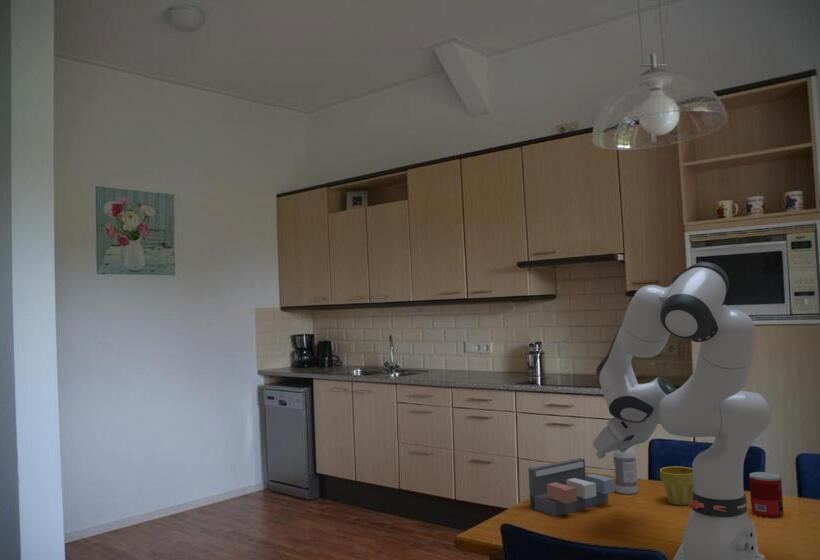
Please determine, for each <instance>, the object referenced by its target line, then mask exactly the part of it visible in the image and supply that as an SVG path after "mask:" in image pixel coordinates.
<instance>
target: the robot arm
mask: <svg viewBox="0 0 820 560" xmlns="http://www.w3.org/2000/svg"><path fill="white" fill-rule="evenodd" d="M729 284H730V283H729V278H728V275H727V273H726V271H725V270H724V269H723V268H722V267H720V266H719V265H717V264H715V263H714V262H709V261H700V262H697V263H694V264H692V265H690V266H688V267H687V268H686V269H684V270H683V271H682V272H680V273H679V274H678V275H676V276H675V277H673V278H672V279H671V284H670V285H669V286H666V287H664V286H661V285H655V284H648V285H644V286H642V287H639V289H638V290H637V291H636V292H635V294H634V295H633V296H632V298H631V300H630V302H629V304H628V306H627V309H626V311H625V315H624V317H623V320H622V321H623V322H622V323H621V324H620V326H619V327H618V328H617V331H616V333H615V335H614V337H613V340H612V342H611V344H610V347H609V349H608V352H607V354H606V356H605V357H604V358H603V359H602V360H601V362H600V363H599V364H598V366H597V368H596V371H595V375H596V379H597V381H598V383H599V385H600V388H601V390H602V394H603V397H604V400H605V403H606V406H607V410H608V412H609V414H610V415H611V416H612V418H610V419H608V420H607V421H606V425H607V426H605V427H604V428H603V429H602V430H601V431H600V432H599V433H598V435H597V436H596V438H595V439H594V440H593V443H592V444H593V447H594V448H595V450H596V451H597V452H596V453H595V455H596V457H597V458H598V459H599V460H600V459H603V458H604V457H606V455H607V454H606V453H611V452H614V450H618V449H619V450H620V452H621V453H622V452H625V451H626V450H627V449H628V448H630V447H633V446H636V445H639V444H643V443H645V442H646V441H648V440H649V439H650V437H651V436H653V434H654V432H655V430H656V429H657V427H658V425H659V423H660V425H661V427H662V429H663V430H664V431H665V432H666V433H668V434H669V435H674V436H679V437H686V438H712V437H714V441H713V443H711V446H709V448H707V449H706V450H703V451H701V452H699V453H698V454H696V457H694V458H693V461H692V464H691V466H692V469H693V483H694V490H693V494H692V500H691V499H690V500H689V504H688V507H689V508H690V509H692V510H691V511H690V512H689V513H690V514H689V516H688V519H687V523H686V525H685V527H684V532H683V535H682V543H681V544H680V546H679V548H678V550H677V552H676V553H675V555H674V557H673V559H672V560H766V556H765V555H764V554H762V553H761V552H759V547H758V539H757V537H758V536H757V531H756V530H757V529H756V525H755V523H754V521H753V520H752V519H751V518H750V517H749V515H748V513H747V511H748V500H747V495H746V494H745V493H744V492H745V491H744V490H745V489H744V465H745V464H744V462H745V458H746V456H747V453H748V450H749V449H750V447H751V445H752V443H753V442H754V441H756V439H757V438H758V437H759V436H760V435H761V434H763V433H764V432H765V431H766V430H767V429H768V427H770V423H771V419H772V411H771V408H770V405H769V403H768V402H767V400H766V399H765V397H763V395H762V394H760V393H758V392H752V391H745V390H743V389H744V388H745V386H746V385H747V383H748V379H749V375H750V370H751V365H752V361H753V356H754V350H755V342H756V341H755V340H756V334H755V333H756V331H755V323H754V321H753V319H752V318H751V317H750V315H748V314H747V313H746V312H745V311H743V310H739V309H735V308H729V307H728V306H727V305H726V304H724V302H725V299H726V297H727V295H728V293H729V287H730V285H729ZM670 335H672V336H674V337H676V338H678V339H683V340H685V341H692V342H694V343H700V344H699V350H698V356H697V359H696V364H695V367H694V370H693V373H692V374H691V375H690V377H689V378H688V379H687V380H686V381H685V382H684V383H683V384H682V385H681V386H680V387H679V388H677V389H676V388H675V387H674V385H673V384H672V383H671V382H670V381H669V380H667V379H665V377H664V378H663V377H660V376H659V377H657V378H655V379H654V380H652V381H650V382H646V383H639V382H638V379H637V377H636V374H635V371H634V367H633V364H632V359H633V358H634V357H638V358H643V359H644V358H652V357H655V356H657V355H659V354H660V353H661V352H662V351H663V350H664V349H665V348H666V347H665V346H666V344H667V343H668V340H669V338H670Z"/></svg>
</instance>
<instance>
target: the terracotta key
mask: <svg viewBox="0 0 820 560" xmlns="http://www.w3.org/2000/svg"><path fill="white" fill-rule="evenodd" d="M547 498H550V499H553V500H556V501H559V502H563V503H565V504H567V503H571V502H575V501H577V491H576V488H575V487H571V486H567V485H564V484H560V483H556V482H554V483H550V484H547Z"/></svg>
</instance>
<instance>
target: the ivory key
mask: <svg viewBox="0 0 820 560" xmlns="http://www.w3.org/2000/svg"><path fill="white" fill-rule="evenodd" d="M566 485H567V486H571V487H575V488H576V491H577V496H579V497H582V498H584V499H587V498H591V497H595V496H596V483H593V482H588V481H585V480H581V479H577V478H572V479H568V480H566Z"/></svg>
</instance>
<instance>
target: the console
mask: <svg viewBox="0 0 820 560" xmlns="http://www.w3.org/2000/svg"><path fill="white" fill-rule="evenodd" d="M585 459H586V458H582V457H579V458H575V459H574V458H573V459H570V460H564V461H560V462H559V461H558V462H555V463H550V464H545V465H540V466H539V465H538V466H534V467H530V468H528V485H529V501H530V503H529V505H530V506H529V507H530V509H532V510H535V511H539V512H541V513H544V514H547V515H549V516H553V517H555V518H556V517H561V516H563V515H567V514H570V513H571V514H572V513H574V512H579V511H583V510H586V509H590V508H594V507H598V506H601V505H605V504H609V496H608V495H609V493H607V494H603V493H600V492H596V496H595V497H591V498H587V499H584V498H582V497H579V496H577V501H575V502H571V503H567V504H565V503H563V502H559V501H556V500H553V499H550V498H547V484H550V483H554V482H556V483H560V484H564V485H566V480H568V479H572V478H577V479H581V480H585V475H586V474H587V473H586V460H585Z"/></svg>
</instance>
